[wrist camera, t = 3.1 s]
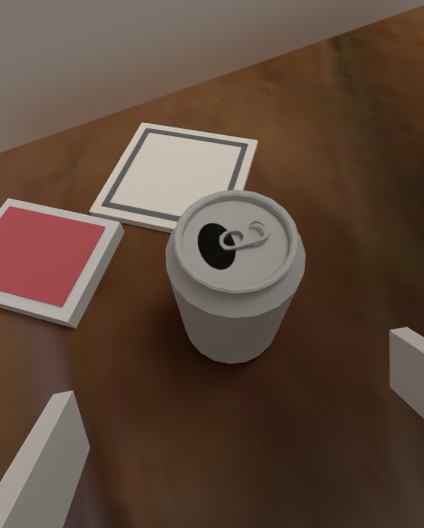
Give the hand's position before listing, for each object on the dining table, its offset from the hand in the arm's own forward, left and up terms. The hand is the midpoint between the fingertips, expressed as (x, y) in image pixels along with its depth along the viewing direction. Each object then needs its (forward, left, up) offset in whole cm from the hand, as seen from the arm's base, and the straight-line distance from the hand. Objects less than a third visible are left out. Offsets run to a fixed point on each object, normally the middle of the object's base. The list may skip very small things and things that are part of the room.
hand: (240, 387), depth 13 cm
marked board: (+11, -21, -11) cm, 26 cm away
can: (+2, -7, -11) cm, 13 cm away
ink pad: (+20, -8, -11) cm, 24 cm away
